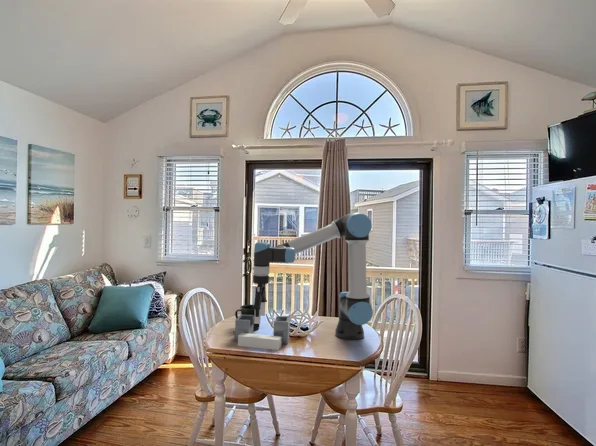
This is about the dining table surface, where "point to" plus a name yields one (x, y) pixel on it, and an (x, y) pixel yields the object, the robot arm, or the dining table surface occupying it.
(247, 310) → the mug
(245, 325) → the brackets
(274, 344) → the rail
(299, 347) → the dining table surface
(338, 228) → the robot arm
